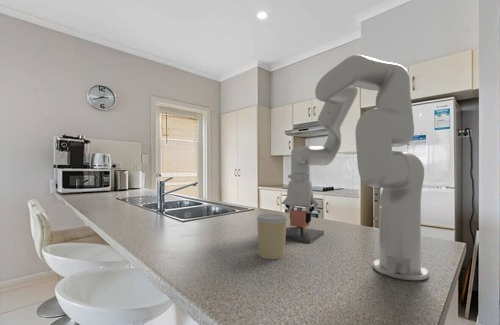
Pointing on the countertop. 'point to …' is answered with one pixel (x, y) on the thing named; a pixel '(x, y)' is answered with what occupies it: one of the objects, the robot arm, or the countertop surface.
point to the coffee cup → (271, 235)
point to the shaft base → (302, 233)
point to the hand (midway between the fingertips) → (300, 221)
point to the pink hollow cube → (298, 218)
